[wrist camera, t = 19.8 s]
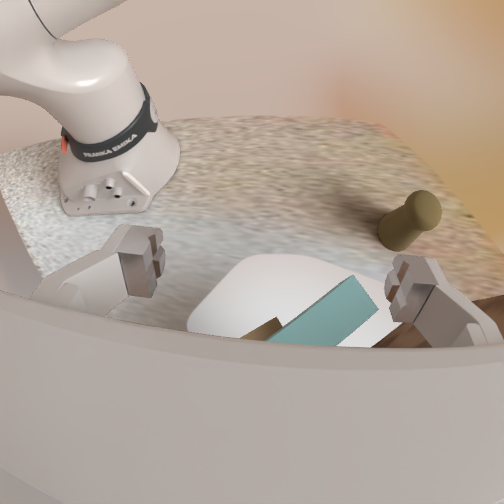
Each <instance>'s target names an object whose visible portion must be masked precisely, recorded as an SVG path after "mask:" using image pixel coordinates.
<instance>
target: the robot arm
mask: <svg viewBox="0 0 504 504" xmlns="http://www.w3.org/2000/svg"><path fill="white" fill-rule="evenodd" d="M125 1H126V0H0V95H4V96H12V97H17V98H22V99H25V100H28V101H31V102H33V103H35V104H37V105H39V106H41V107H42V108H44V109H45V110H46V111H47V112H49V113H50V114H51V115H52V116H53V117H54V118H55V119H56V120H57V121H58V122H59V123H60V124H61V125H62V131H61V136H62V144H61V153H60V157H59V164H58V178H59V183H60V198H61V203H62V206H63V209H64V211H65V212H66V214H67V215H69V216H87V215H103V214H121V213H140V212H143V211H145V210H146V209H147V207H148V206H149V204H150V202H151V201H152V199H153V197H154V195H155V194H156V193H157V192H158V191H159V190H160V189H161V188H162V187H163V186H164V185H165V184H166V183H167V182H168V181H169V180H170V178H171V177H172V175H173V174H174V172H175V170H176V168H177V166H178V163H179V158H180V147H179V143H178V141H177V139H176V137H175V136H174V135H173V134H172V133H171V132H170V131H169V130H168V129H167V128H166V127H165V126H164V125H163V124H162V123H161V121H160V120H159V119H158V114H157V110H156V108H155V105H154V103H153V101H152V98H151V97H150V96H149V94H148V92H147V90H146V88H145V86H144V85H143V84H142V83H141V82H139V80H138V77H137V75H136V73H135V71H134V68H133V66H132V64H131V62H130V59H129V57H128V55H127V53H126V51H125V50H124V49H123V48H122V47H121V46H119V45H118V44H116V43H114V42H111V41H108V40H104V39H86V40H80V41H67V40H62V39H59V37H61V36H63V35H64V34H66V33H68V32H69V31H71V30H73V29H74V28H76V27H78V26H80V25H81V24H83V23H85V22H87V21H89V20H90V19H92V18H94V17H96V16H98V15H100V14H102V13H104V12H106V11H108V10H110V9H112V8H114V7H116V6H118V5H120V4H122V3H123V2H125ZM67 200H68V201H67ZM66 201H67V202H66ZM132 203H135V204H134V206H131V205H132ZM162 241H163V234H162V230H161V229H160V228H152V227H144V226H133V225H124V224H122V225H119V226H118V227H117V229H116V230H115V231H114V233H113V234H112V235H111V237H110V238H109V239H108V241H107V242H106V243H105V245H104V246H103V247H102V249H101V250H96V251H94V252H92V253H90V254H88V255H86V256H84V257H82V258H80V259H78V260H76V261H74V262H72V263H70V264H69V265H67V266H65V267H63V268H61V269H59V270H57V271H55V272H54V273H52V274H50V275H48V276H46V277H45V278H43V280H42V281H41V283H40V284H39V285H38V287H37V288H36V289H35V291H34V292H33V294H32V295H31V297H30V298H29V299H28V298H25V297H21V296H18V295H14V294H11V293H8V292H4V291H1V290H0V504H504V339H503V337H502V335H501V333H500V331H499V329H498V327H497V325H496V323H495V322H494V321H493V320H492V319H491V318H490V317H489V316H488V315H486V314H485V313H484V312H483V311H482V310H481V309H479V308H478V307H477V306H476V305H475V304H474V303H472V302H471V301H470V300H469V299H468V298H466V297H465V296H464V295H463V294H461V293H460V292H459V291H458V290H457V289H455V288H454V287H451V286H450V285H449V284H448V282H447V280H446V278H445V276H444V274H443V272H442V270H441V269H440V267H439V265H438V263H437V261H436V260H435V259H434V258H433V257H422V256H421V257H419V256H410V255H400V254H397V255H396V257H395V258H394V260H393V263H392V264H393V267H394V269H393V270H392V271H390V272H389V273H388V275H387V278H386V280H385V287H384V289H385V295H386V299H387V300H388V301H389V302H391V305H390V307H389V309H390V312H391V315H392V319H393V322H405V323H414V325H415V327H416V328H417V329H418V330H419V331H420V333H421V334H422V335H423V336H424V337H425V339H426V340H427V341H428V342H429V344H430V345H431V346H432V347H433V348H362V347H338V346H319V345H304V344H290V343H278V342H267V341H257V340H247V339H238V338H230V337H221V336H214V335H206V334H199V333H192V332H185V331H179V330H172V329H166V328H160V327H154V326H149V325H143V324H138V323H132V322H127V321H122V320H117V319H112V318H107V317H103V316H105V315H106V314H107V313H108V312H110V311H111V310H112V309H113V308H115V307H116V306H117V305H118V304H120V303H121V302H122V301H123V300H125V299H126V298H127V297H128V295H131V296H139V297H147V298H151V297H152V295H153V293H154V290H155V288H156V286H157V281H156V279H157V278H158V277H160V276H161V275H162V272H163V270H164V265H165V250H164V249H163V247H162V246H161V245H160V244H161V243H162Z"/></svg>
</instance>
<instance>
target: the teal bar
mask: <svg viewBox="0 0 504 504" xmlns="http://www.w3.org/2000/svg"><path fill="white" fill-rule="evenodd" d="M378 310H379V309H378V308H377V306H376V305H375V304H374V302H373V301H372V299H371V298H370V297H369V295H368V294H367V293H366V292H365V290H364V289H363V287H362V286H361V284H360V283H359V282H358V281H357V279H356V278H355V276H354V275H352V276H350V277H349V278H347V279H345V280H343V281H342V282H340V283H339V284H338V285H337V286H336V287H334V288H333V289H332V290H330V291H329V292H328V293H327V294H326V295H324V296H323V297H322V298H320V299H319V300H318V301H316V302H315V303H314V304H313V305H311V306H310V307H309V308H307V309H306V310H305V311H304V312H302V313H301V314H300V315H298V316H297V317H296V318H294V319H293V320H292V321H290V322H289V323H288V324H286V325H285V326H284V327H282V328H281V329H279V330H278V331H277V332H275V333H274V334H273V335H271V336H270V337H268V338H267V339H266V340H264V341H267V342H278V343H290V344H304V345H319V346H336V345H337V344H339V343H340V342H341V341H342V340H344V339H345V338H346V337H347V336H349V335H350V334H351V333H352V332H353V331H355V330H356V329H357V328H358V327H359V326H360V325H362V324H363V323H364V322H365V321H366V320H367V319H369V318H370V317H371V316H372V315H373V314H374V313H375V312H376V311H378Z"/></svg>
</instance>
